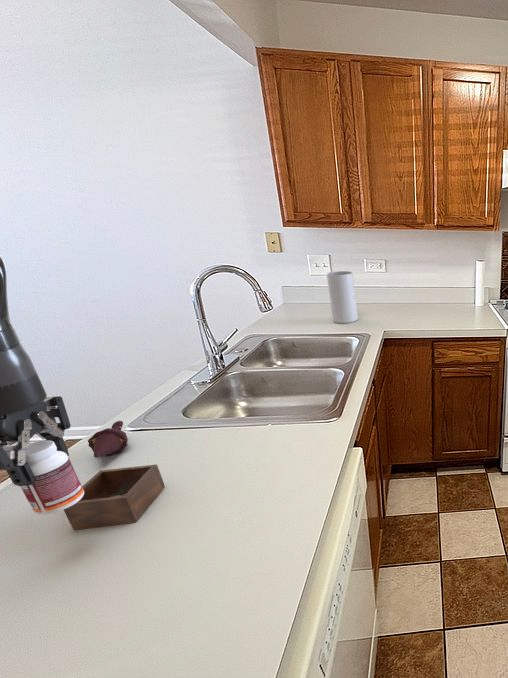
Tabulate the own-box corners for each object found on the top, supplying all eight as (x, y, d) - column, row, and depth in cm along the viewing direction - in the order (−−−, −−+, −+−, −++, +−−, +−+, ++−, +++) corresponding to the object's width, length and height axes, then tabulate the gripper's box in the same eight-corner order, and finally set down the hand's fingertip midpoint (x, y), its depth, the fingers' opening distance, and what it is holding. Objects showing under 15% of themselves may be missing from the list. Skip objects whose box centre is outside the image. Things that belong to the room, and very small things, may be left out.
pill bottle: (93, 488, 71) (70, 435, 67) (70, 512, 65) (43, 456, 61) (51, 493, 69) (24, 440, 65) (23, 519, 64) (-8, 462, 60)
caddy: (73, 530, 75) (61, 505, 73) (109, 493, 85) (100, 470, 83) (136, 522, 77) (126, 497, 75) (165, 486, 87) (157, 464, 85)
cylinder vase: (353, 316, 218) (347, 270, 209) (361, 321, 209) (355, 273, 200) (330, 319, 212) (323, 272, 202) (337, 325, 202) (330, 276, 193)
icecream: (116, 442, 92) (139, 417, 105) (73, 442, 88) (102, 417, 102) (116, 469, 93) (138, 441, 106) (73, 470, 90) (102, 442, 103)
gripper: (11, 361, 64) (52, 448, 71) (-87, 402, 51) (-26, 504, 57) (65, 358, 66) (101, 444, 72) (-17, 397, 53) (35, 497, 59)
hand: (44, 470), depth 65 cm, fingers closed on pill bottle, 6 cm apart
